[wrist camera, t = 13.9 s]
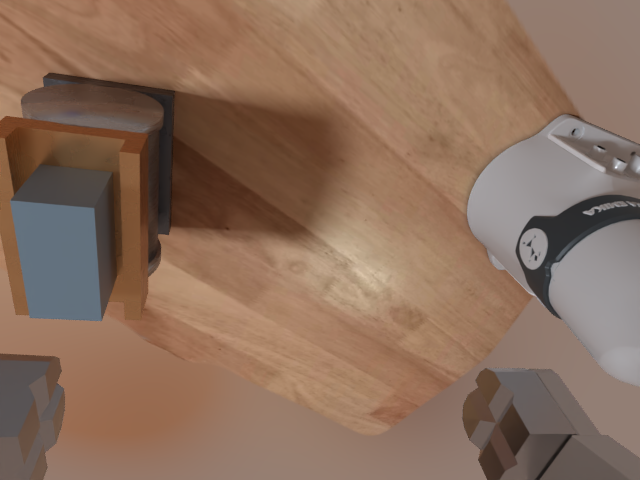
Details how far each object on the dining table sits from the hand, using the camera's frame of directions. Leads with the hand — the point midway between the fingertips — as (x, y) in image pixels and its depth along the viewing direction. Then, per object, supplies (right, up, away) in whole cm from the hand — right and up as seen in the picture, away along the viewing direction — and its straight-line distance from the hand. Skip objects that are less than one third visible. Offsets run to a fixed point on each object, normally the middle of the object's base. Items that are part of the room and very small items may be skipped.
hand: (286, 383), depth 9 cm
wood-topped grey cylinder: (-18, +10, +35) cm, 41 cm away
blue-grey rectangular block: (-16, +4, +25) cm, 30 cm away
